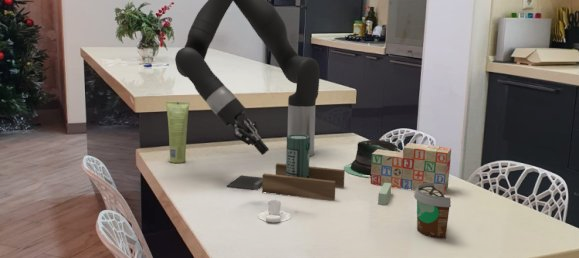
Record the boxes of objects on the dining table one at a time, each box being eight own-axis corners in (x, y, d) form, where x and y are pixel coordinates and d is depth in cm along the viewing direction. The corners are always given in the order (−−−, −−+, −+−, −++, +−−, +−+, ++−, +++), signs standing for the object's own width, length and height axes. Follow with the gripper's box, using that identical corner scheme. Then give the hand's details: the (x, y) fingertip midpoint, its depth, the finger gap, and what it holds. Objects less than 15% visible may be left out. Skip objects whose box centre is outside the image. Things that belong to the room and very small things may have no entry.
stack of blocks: (369, 184, 175) (371, 143, 172) (375, 179, 181) (378, 138, 178) (444, 195, 166) (447, 152, 164) (448, 189, 172) (451, 147, 169)
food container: (405, 221, 145) (408, 181, 143) (430, 221, 146) (433, 181, 144) (420, 241, 133) (423, 198, 131) (447, 241, 134) (451, 198, 132)
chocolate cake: (420, 166, 193) (397, 183, 176) (371, 184, 203) (345, 202, 186) (400, 123, 194) (376, 136, 177) (353, 143, 204) (325, 157, 187)
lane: (277, 179, 177) (277, 163, 176) (344, 186, 172) (344, 169, 171) (262, 192, 165) (262, 174, 164) (333, 200, 159) (334, 182, 158)
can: (312, 189, 169) (314, 136, 166) (297, 193, 165) (299, 140, 162) (296, 184, 173) (297, 133, 170) (281, 188, 169) (282, 136, 166)
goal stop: (383, 193, 167) (384, 182, 166) (390, 193, 166) (391, 183, 166) (377, 204, 158) (378, 193, 157) (385, 205, 157) (386, 194, 156)
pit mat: (241, 176, 180) (241, 171, 179) (270, 179, 177) (270, 174, 177) (226, 187, 169) (226, 181, 169) (257, 190, 167) (257, 185, 166)
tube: (182, 158, 198) (181, 99, 194) (190, 161, 195) (189, 101, 191) (166, 161, 195) (165, 101, 191) (174, 164, 191) (173, 103, 187)
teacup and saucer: (277, 227, 141) (277, 210, 140) (249, 220, 145) (249, 204, 144) (296, 216, 148) (297, 200, 147) (269, 210, 152) (270, 194, 152)
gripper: (225, 100, 163) (267, 149, 162) (243, 94, 175) (282, 139, 174) (207, 118, 166) (248, 166, 165) (226, 110, 178) (264, 155, 177)
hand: (265, 152), depth 169 cm, fingers closed
